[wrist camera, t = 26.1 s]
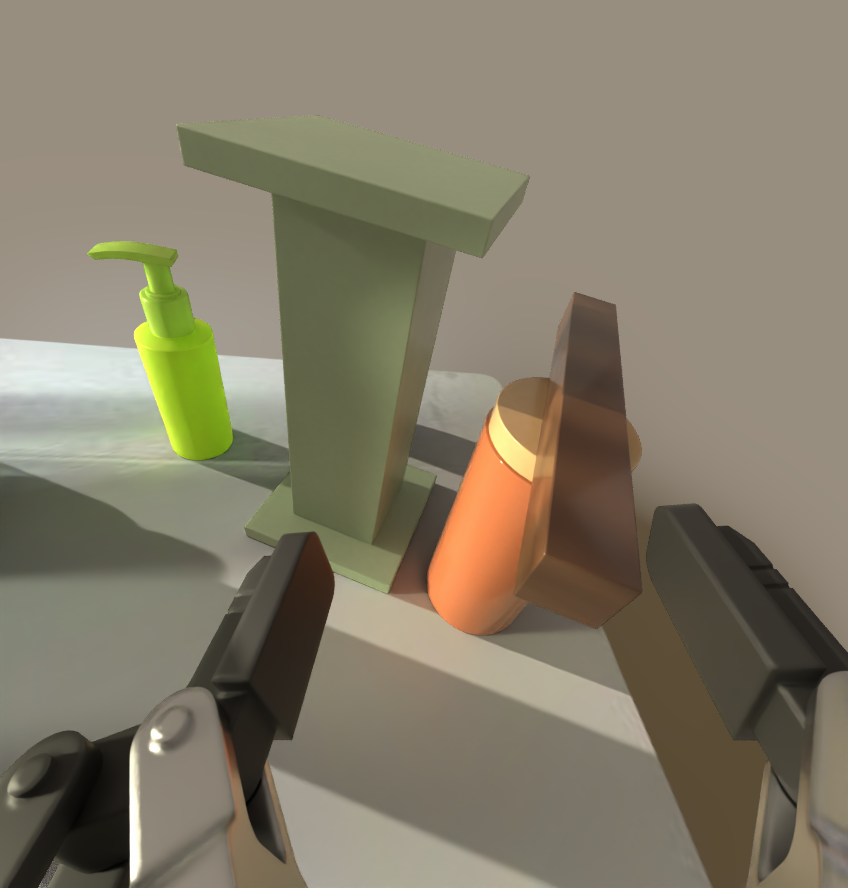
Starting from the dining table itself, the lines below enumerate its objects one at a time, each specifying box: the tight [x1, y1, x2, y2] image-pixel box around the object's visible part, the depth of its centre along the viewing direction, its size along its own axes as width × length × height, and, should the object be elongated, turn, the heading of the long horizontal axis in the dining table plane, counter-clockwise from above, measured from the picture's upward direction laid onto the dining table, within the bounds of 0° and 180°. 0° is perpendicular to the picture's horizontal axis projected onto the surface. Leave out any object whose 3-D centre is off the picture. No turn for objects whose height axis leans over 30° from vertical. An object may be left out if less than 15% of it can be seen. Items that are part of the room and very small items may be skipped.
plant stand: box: [176, 115, 530, 594], centre depth 31 cm, size 14×14×30 cm
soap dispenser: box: [88, 241, 233, 460], centre depth 37 cm, size 6×7×20 cm
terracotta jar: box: [426, 377, 642, 635], centre depth 30 cm, size 9×9×20 cm
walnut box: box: [513, 292, 642, 629], centre depth 22 cm, size 24×3×3 cm, turn 162°
